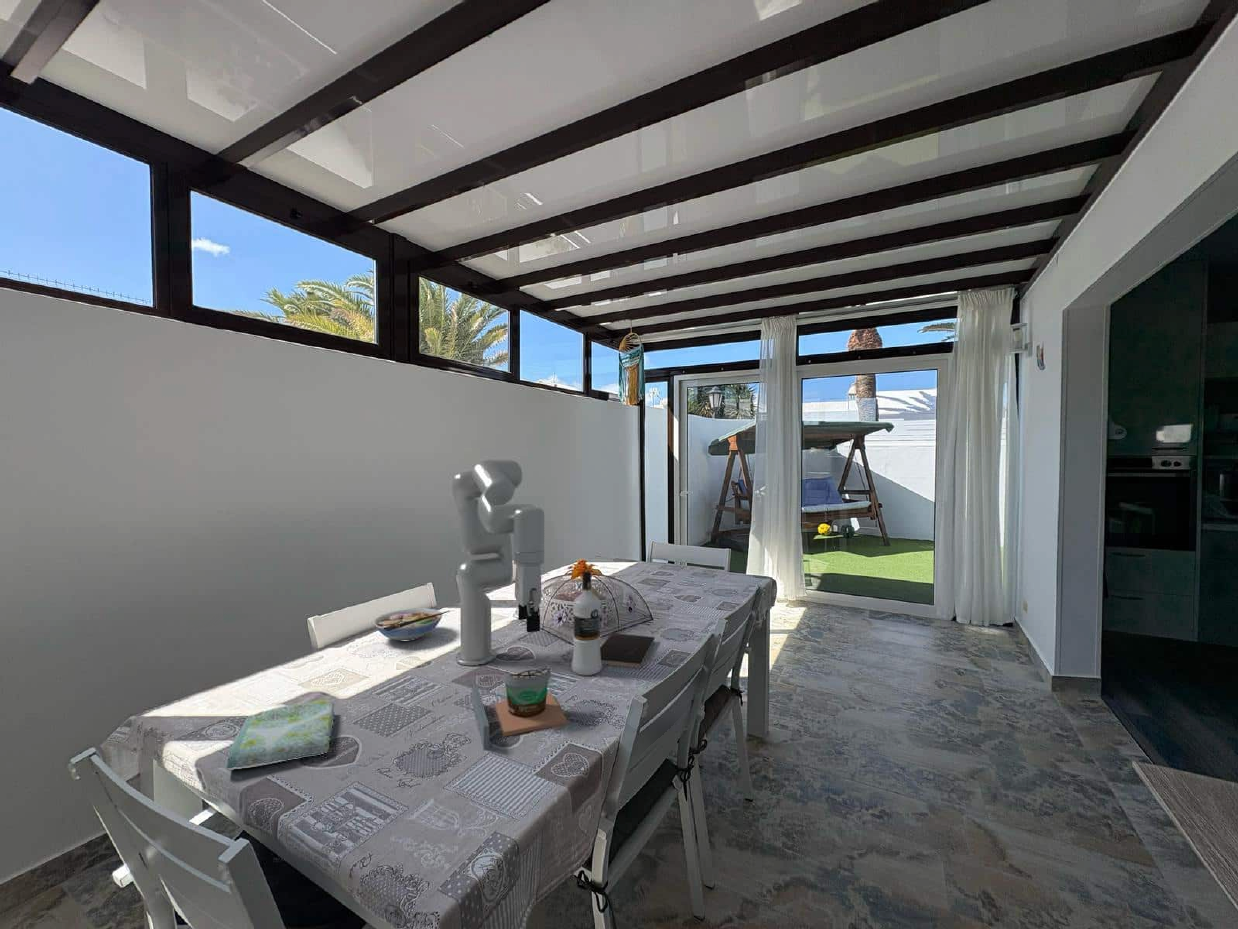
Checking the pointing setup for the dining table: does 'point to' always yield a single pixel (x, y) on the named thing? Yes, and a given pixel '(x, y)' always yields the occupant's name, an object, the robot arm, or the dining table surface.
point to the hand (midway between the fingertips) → (528, 625)
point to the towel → (283, 734)
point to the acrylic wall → (480, 716)
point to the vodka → (586, 631)
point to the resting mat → (529, 718)
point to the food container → (527, 692)
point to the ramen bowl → (408, 623)
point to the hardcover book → (625, 650)
